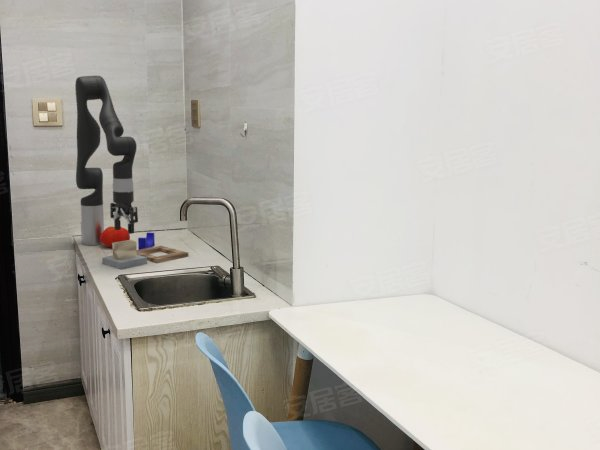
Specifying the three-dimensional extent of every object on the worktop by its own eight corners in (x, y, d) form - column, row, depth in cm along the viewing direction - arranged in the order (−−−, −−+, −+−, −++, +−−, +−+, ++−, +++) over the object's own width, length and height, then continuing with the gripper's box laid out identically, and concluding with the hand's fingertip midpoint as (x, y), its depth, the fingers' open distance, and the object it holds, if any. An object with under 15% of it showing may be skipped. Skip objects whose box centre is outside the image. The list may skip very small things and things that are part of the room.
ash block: (112, 258, 239) (112, 242, 237) (130, 254, 245) (130, 239, 243) (118, 260, 236) (118, 244, 235) (136, 256, 242) (136, 241, 241)
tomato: (98, 244, 271) (97, 225, 270) (127, 242, 276) (127, 223, 275) (102, 251, 260) (101, 231, 258) (132, 249, 265) (132, 229, 264)
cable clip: (144, 245, 272) (144, 232, 271) (154, 246, 272) (154, 232, 271) (135, 252, 260) (134, 238, 259) (145, 252, 260) (145, 238, 259)
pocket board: (129, 255, 254) (129, 251, 254) (160, 249, 266) (160, 245, 266) (156, 263, 243) (156, 259, 242) (188, 256, 255) (188, 252, 254)
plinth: (102, 263, 240) (102, 257, 240) (128, 258, 249) (128, 252, 249) (120, 269, 233) (120, 262, 232) (147, 263, 242) (147, 257, 241)
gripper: (103, 188, 237) (105, 230, 240) (126, 193, 228) (127, 236, 231) (120, 186, 243) (121, 227, 246) (142, 191, 234) (143, 233, 237)
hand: (124, 231), depth 239 cm, fingers open, 8 cm apart
